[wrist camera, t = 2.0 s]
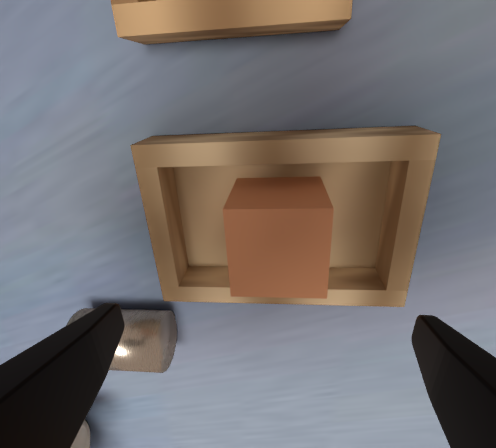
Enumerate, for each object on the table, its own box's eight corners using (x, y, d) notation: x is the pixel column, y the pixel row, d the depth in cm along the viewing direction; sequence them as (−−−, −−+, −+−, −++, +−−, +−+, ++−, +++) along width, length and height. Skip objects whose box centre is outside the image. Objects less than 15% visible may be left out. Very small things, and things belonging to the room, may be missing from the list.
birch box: (414, 125, 17) (441, 134, 14) (388, 277, 21) (404, 306, 18) (152, 135, 18) (130, 145, 16) (177, 275, 23) (163, 301, 20)
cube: (320, 176, 18) (333, 208, 13) (316, 249, 20) (327, 298, 15) (236, 178, 18) (222, 209, 14) (241, 249, 20) (230, 296, 16)
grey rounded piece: (159, 308, 22) (151, 376, 20) (179, 312, 26) (173, 369, 24) (69, 305, 22) (54, 371, 21) (102, 310, 26) (91, 365, 25)
